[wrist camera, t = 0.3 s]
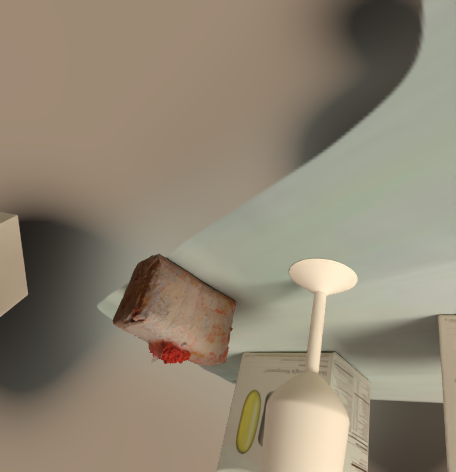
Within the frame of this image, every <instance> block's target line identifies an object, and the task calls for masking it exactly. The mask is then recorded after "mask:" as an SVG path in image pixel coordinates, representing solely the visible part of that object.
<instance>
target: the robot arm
mask: <svg viewBox="0 0 456 472" xmlns="http://www.w3.org/2000/svg"><path fill="white" fill-rule="evenodd" d="M27 295H28V291H27V283H26V276H25V269H24V262H23V253H22V246H21V238H20V230H19V223H18V216H17V215H13V214H8V213H2V212H0V317H1V316H2V315H3V314H4V313H5V312H7V311H8V310H9V309H11V308H12V307H13V306H14V305H15V304H17V303H18V302H19V301H20V300H22V299H23V298H24V297H25V296H27ZM455 382H456V379H455Z"/></svg>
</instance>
